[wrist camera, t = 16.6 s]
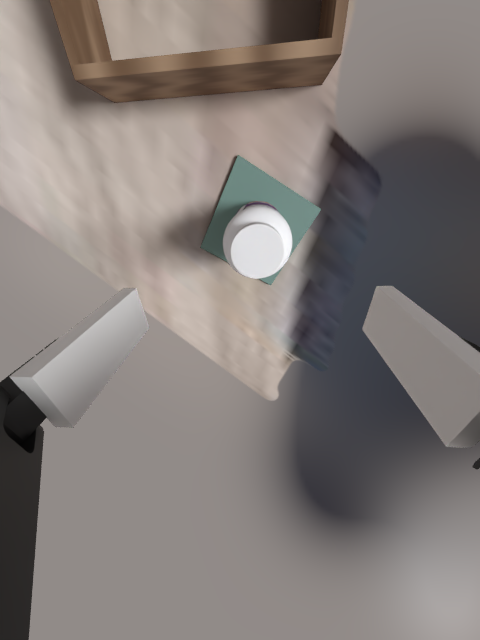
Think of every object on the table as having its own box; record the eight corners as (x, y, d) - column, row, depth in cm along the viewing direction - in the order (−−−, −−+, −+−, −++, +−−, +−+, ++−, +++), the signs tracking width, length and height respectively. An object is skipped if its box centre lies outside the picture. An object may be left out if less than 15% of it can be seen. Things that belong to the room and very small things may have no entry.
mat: (201, 246, 36) (200, 247, 36) (238, 155, 29) (238, 154, 29) (270, 284, 39) (270, 285, 38) (320, 208, 32) (321, 209, 31)
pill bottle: (249, 263, 37) (245, 302, 24) (222, 221, 33) (201, 242, 21) (292, 236, 34) (310, 265, 22) (266, 187, 30) (272, 189, 18)
